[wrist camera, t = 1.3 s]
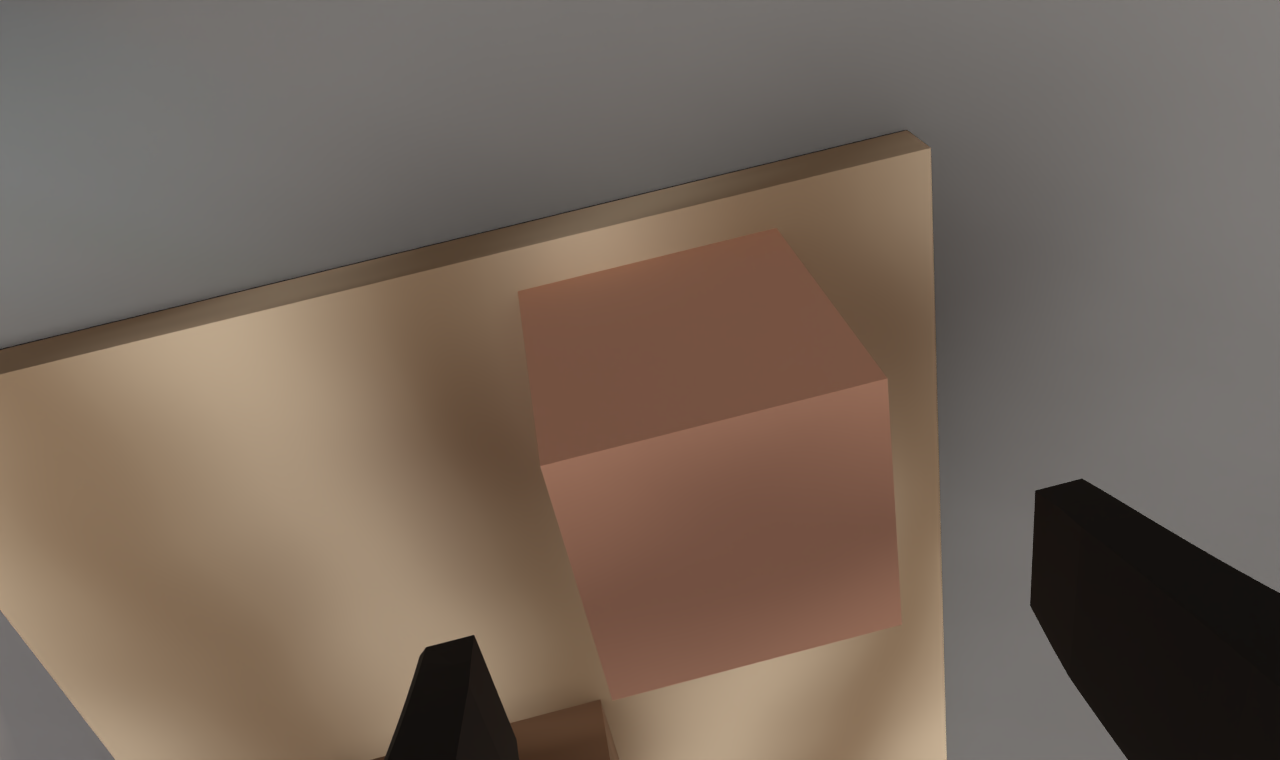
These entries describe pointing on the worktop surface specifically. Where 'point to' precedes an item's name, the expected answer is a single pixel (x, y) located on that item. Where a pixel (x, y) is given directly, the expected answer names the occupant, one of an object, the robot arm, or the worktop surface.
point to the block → (713, 460)
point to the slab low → (565, 735)
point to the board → (430, 493)
